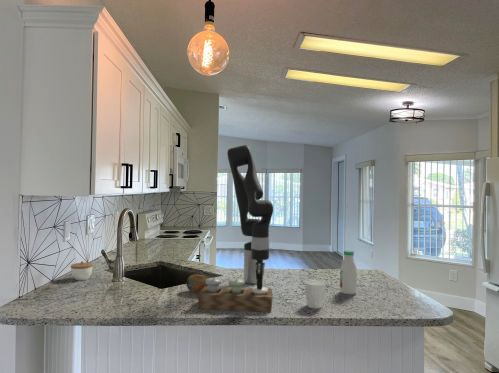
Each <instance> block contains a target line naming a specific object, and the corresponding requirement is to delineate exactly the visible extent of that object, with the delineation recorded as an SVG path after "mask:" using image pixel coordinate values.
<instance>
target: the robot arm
mask: <svg viewBox="0 0 499 373" xmlns="http://www.w3.org/2000/svg"><path fill="white" fill-rule="evenodd" d="M227 159H228V160H227V161H228V163H229V168H230V172H231V176H232V179H233V186H234V192H235V198H236V203H237V205H238V206H237V207H238V213H239V219H240V220H239V222H240V230H241V233H242V235H243V236H245V237H251V241H250V242H249V241H248V242H245V243H244V245H243V280H244V284H251V285H255V284H256V287H257V289H262V287H263V280H264V274H265V266H266V263H265V262H264V261H266V260H269V258H270V237H269V236H270V234H269V232H270V223H271V220H272V216H273V213H274V205H273V203H272V201H271V200H268V199H267V200H266V199H263V200H262V198H263V196H264V191H263V188H262V186H261V183H260V181H259V178H258V174H257V169H256V165H255V161H254V158H253V154H252V151H251V148H250V147H249V146H248V145H247V144H244V145H240V146H236V147H235V146H234V147H231V148H229V149H228V150H227ZM246 165H247V170H246V174H245V176H243V175H242V174H241V172H240V171H239V169H238V168H239V167H243V166H246ZM248 214H249V216H251V217H253V218H249V217H248Z"/></svg>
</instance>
